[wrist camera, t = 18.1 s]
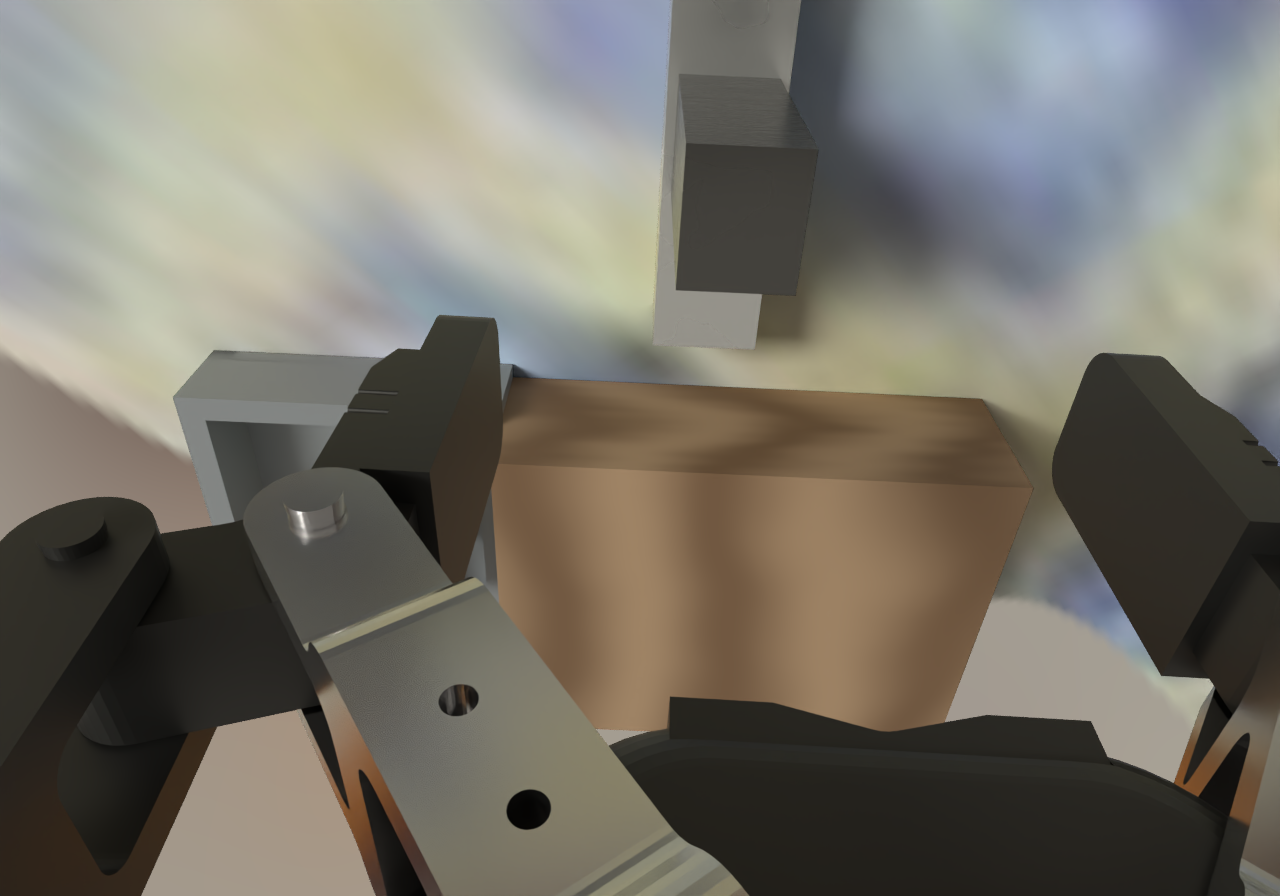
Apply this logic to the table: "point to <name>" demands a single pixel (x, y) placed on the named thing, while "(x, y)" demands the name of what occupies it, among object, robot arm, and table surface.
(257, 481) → the tray
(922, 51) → the table surface
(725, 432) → the walnut block
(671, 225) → the scraper
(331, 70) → the table surface
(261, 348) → the table surface
